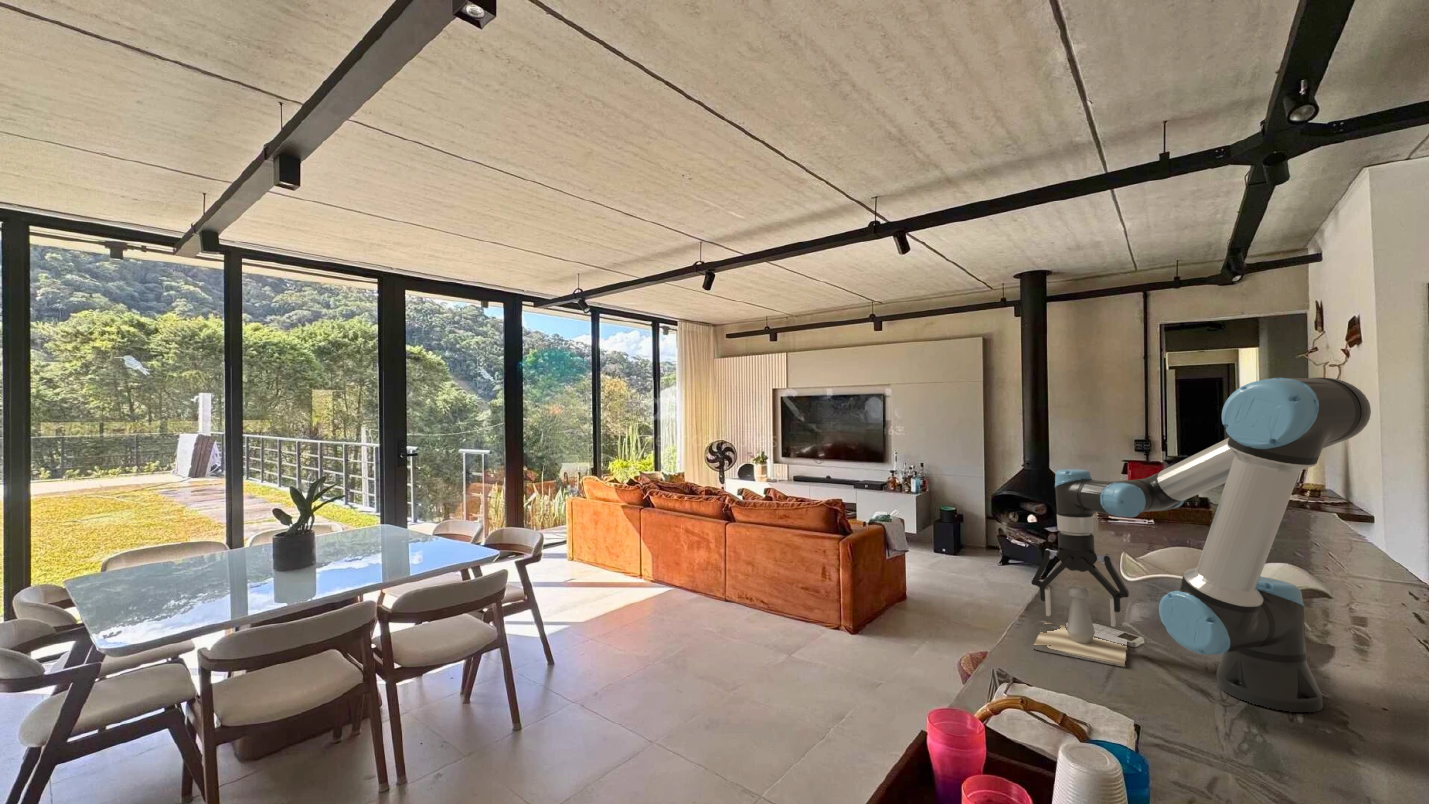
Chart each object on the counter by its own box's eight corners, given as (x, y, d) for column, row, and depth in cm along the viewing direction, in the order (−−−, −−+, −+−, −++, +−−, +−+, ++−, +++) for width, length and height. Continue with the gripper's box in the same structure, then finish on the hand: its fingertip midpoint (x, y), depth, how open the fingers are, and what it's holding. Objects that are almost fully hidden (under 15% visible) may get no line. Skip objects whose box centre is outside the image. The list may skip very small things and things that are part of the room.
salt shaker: (1094, 646, 135) (1090, 591, 136) (1066, 642, 138) (1062, 588, 139) (1096, 639, 140) (1092, 585, 140) (1068, 634, 143) (1065, 582, 144)
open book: (1125, 668, 126) (1124, 662, 126) (1033, 650, 137) (1033, 645, 138) (1128, 641, 141) (1127, 636, 141) (1045, 626, 152) (1044, 622, 152)
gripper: (1138, 534, 135) (1143, 624, 135) (1021, 525, 150) (1026, 606, 150) (1137, 540, 129) (1143, 634, 129) (1016, 530, 144) (1020, 614, 144)
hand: (1080, 619), depth 139 cm, fingers open, 13 cm apart
